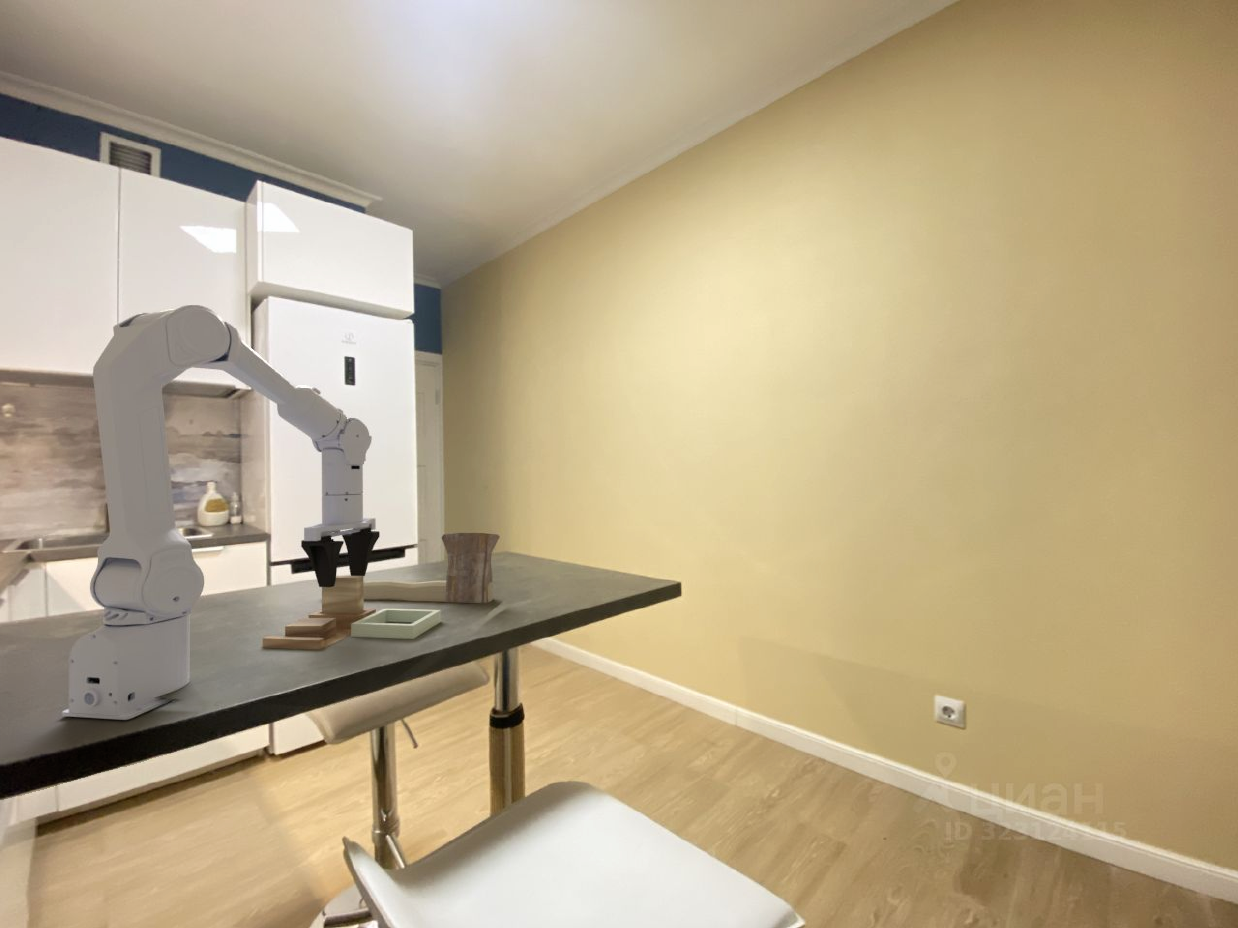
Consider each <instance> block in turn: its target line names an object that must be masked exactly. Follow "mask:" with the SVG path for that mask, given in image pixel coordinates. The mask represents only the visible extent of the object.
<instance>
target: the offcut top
mask: <svg viewBox="0 0 1238 928" xmlns="http://www.w3.org/2000/svg"><path fill="white" fill-rule="evenodd" d="M335 626H336V618H309V617H305V618H304V617H302V618H300V619H298V620H296V621H293V622H292V623H290V624H288V625H287V624H286V625H285V626H284V628H285V629H284V631H285V632H284V636H285V635H321V634H323V633H325V632H327V631H328V630H330V629H332V628H334V627H335Z"/></svg>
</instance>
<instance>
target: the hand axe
mask: <svg viewBox="0 0 1238 928" xmlns="http://www.w3.org/2000/svg"><path fill="white" fill-rule="evenodd" d="M499 539H500V535H499V534H494V533H485V532H484V533H483V532H455V533H445V534H442V536H441V541H442V544H443V546H444V549H445V551H446V555H447V570H446V574H445V575H446V576H445V579H446V580H430V581H419V582H415V581H413V582H412V581H404V580H397V579H396V580H395V579H394V580H393V579H383V580H365V581H364V580H363V590H364V601H365V600H366V601H367V600H368V601H371V600H372V601H374V600H375V601H389V600H390V601H407V602H437V603H438V602H445V603H463V604H464V603H465V604H466V603H468V604H488V603H490V602H492V601H493V600H494V581H493V571H492V569H493V568H492V554H493V552H494V549H495V547H496V545H497V543H498V541H499Z"/></svg>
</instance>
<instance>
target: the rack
mask: <svg viewBox="0 0 1238 928" xmlns="http://www.w3.org/2000/svg"><path fill="white" fill-rule="evenodd" d="M376 612H377V609H376V608H364V612H363V613H361V614H327V613H322V609H319V610H317V611H315V612H312V613H310V614H308V618H336V626H335V627H337V635H336V636H334V637H331V638H329V639H327V640H325V641H324V638H312V637H285V635H284V636H282V635H281V636H280V635H279V636H278V635H267V636H265V637H262V646H261V648H267V649H268V648H269V649H272V648H273V649H293V650H294V649H296V650H298V649H299V650H323V649H325V648H327V647H330V646H331V645H334V644H335V643H338V642H339V641H342V640H344V639H346V638H347V637H351V624H352V623H354V622H356V621H358V620H361V619H363V618H365V617H367V616H369V615H371V614H374V613H376Z"/></svg>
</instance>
